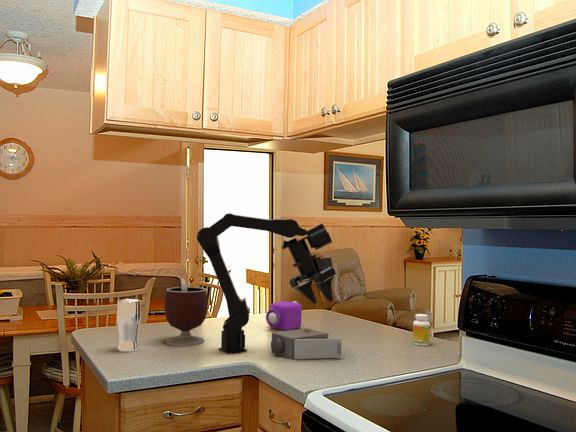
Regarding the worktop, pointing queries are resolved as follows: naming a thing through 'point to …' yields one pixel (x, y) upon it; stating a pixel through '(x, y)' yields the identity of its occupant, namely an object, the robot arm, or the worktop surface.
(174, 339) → the mate gourd
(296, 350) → the camera door
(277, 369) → the worktop surface
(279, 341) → the box
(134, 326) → the beer glass
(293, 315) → the toy camera
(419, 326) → the supplement bottle
